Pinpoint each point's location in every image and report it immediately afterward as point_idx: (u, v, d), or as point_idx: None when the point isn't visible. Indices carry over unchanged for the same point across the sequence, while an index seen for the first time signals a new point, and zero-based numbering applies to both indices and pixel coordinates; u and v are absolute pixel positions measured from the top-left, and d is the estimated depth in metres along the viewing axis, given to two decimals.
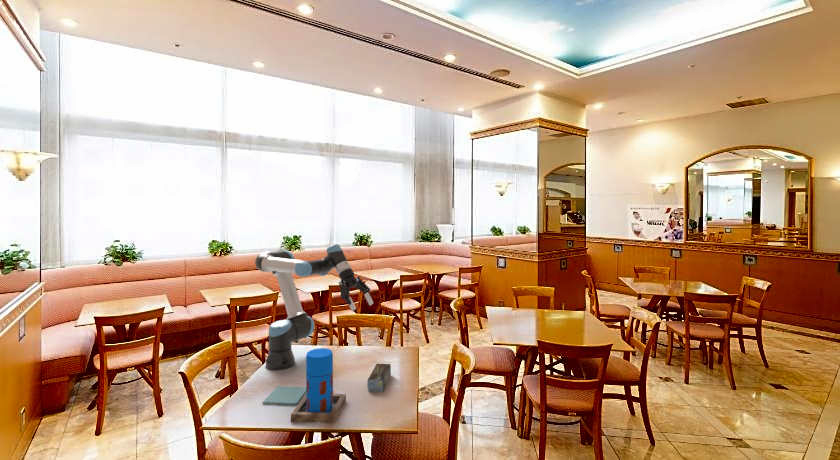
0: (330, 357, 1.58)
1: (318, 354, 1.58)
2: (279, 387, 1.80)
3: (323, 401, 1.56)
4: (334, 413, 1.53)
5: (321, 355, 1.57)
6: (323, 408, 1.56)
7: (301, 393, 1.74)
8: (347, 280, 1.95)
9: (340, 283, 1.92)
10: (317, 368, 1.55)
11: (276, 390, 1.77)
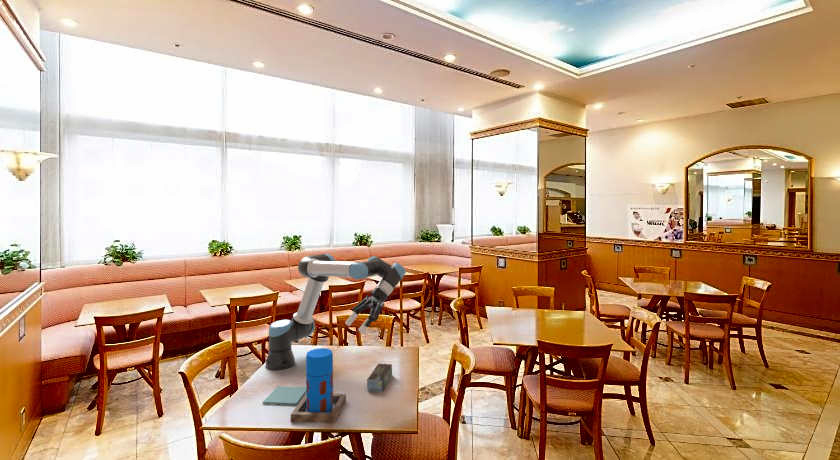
0: (330, 357, 1.58)
1: (318, 354, 1.58)
2: (279, 387, 1.80)
3: (323, 401, 1.56)
4: (334, 413, 1.53)
5: (321, 355, 1.57)
6: (323, 408, 1.56)
7: (301, 393, 1.74)
8: None
9: (381, 304, 1.73)
10: (317, 368, 1.55)
11: (276, 390, 1.77)
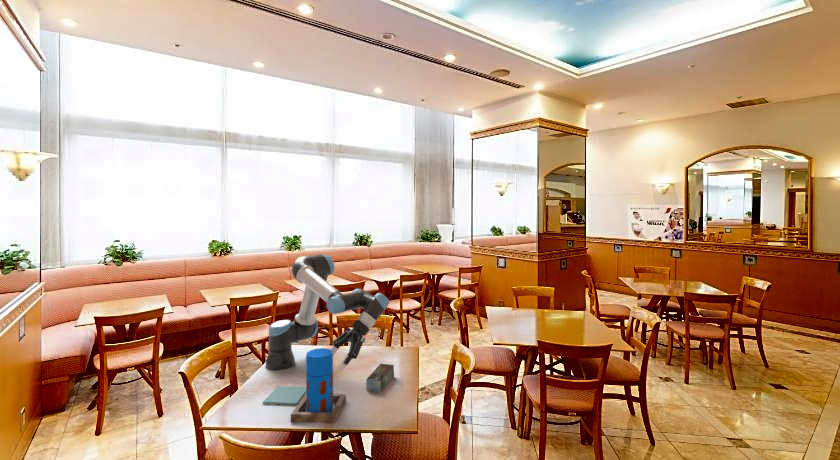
0: (330, 357, 1.58)
1: (318, 354, 1.58)
2: (279, 387, 1.80)
3: (323, 401, 1.56)
4: (334, 413, 1.53)
5: (321, 355, 1.57)
6: (323, 408, 1.56)
7: (301, 393, 1.74)
8: None
9: (361, 339, 1.63)
10: (317, 368, 1.55)
11: (276, 390, 1.77)
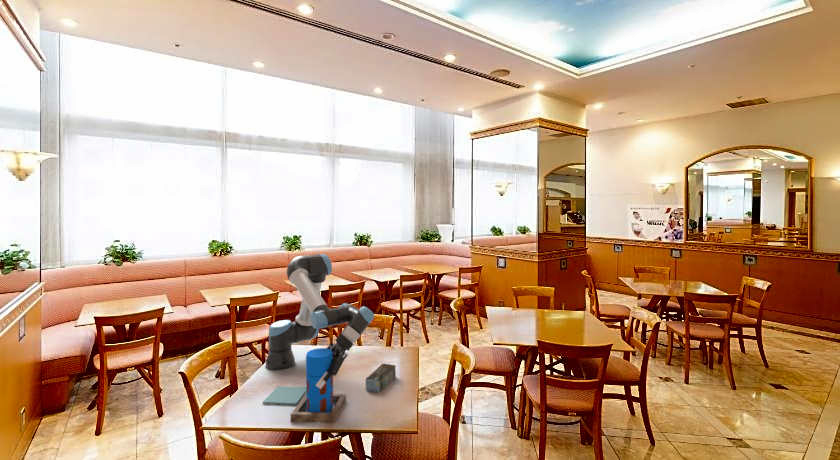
0: (330, 357, 1.58)
1: (318, 354, 1.58)
2: (279, 387, 1.80)
3: (323, 401, 1.56)
4: (334, 413, 1.53)
5: (321, 355, 1.57)
6: (323, 408, 1.56)
7: (301, 393, 1.74)
8: None
9: (343, 355, 1.59)
10: (317, 368, 1.55)
11: (276, 390, 1.77)
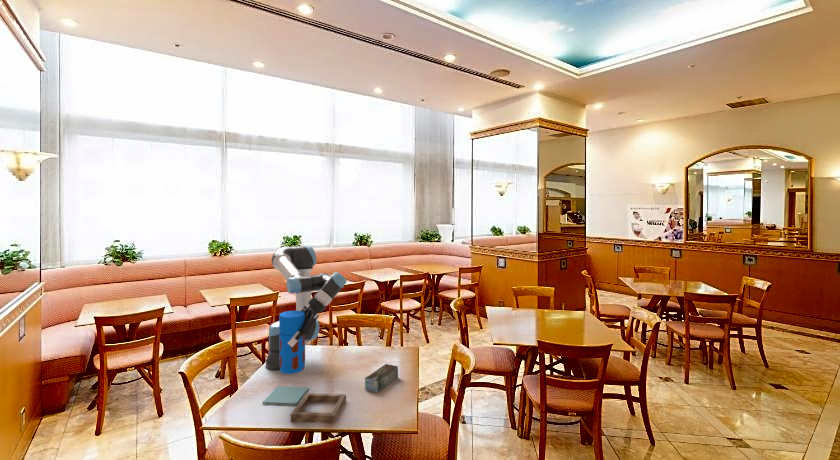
0: (302, 318, 1.66)
1: (290, 315, 1.66)
2: (279, 387, 1.80)
3: (295, 359, 1.65)
4: (334, 413, 1.53)
5: (293, 315, 1.65)
6: (295, 365, 1.65)
7: (301, 393, 1.74)
8: None
9: (315, 316, 1.67)
10: (289, 327, 1.63)
11: (276, 390, 1.77)
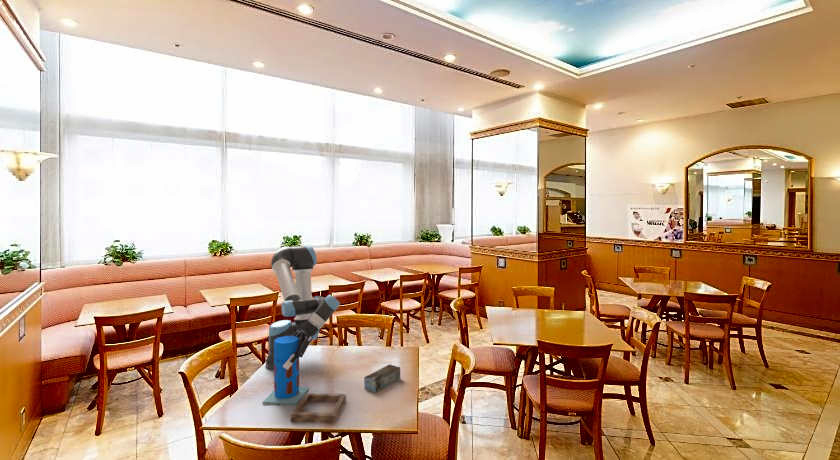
0: (296, 343, 1.71)
1: (285, 340, 1.71)
2: None
3: (289, 384, 1.69)
4: (334, 413, 1.53)
5: (287, 341, 1.70)
6: (289, 390, 1.69)
7: (301, 393, 1.74)
8: None
9: (309, 338, 1.71)
10: (283, 353, 1.68)
11: None
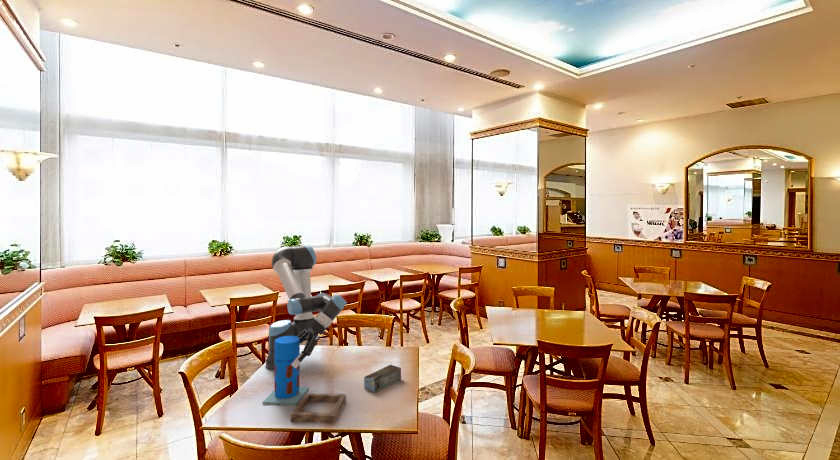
0: (297, 343, 1.71)
1: (285, 340, 1.71)
2: None
3: (289, 384, 1.69)
4: (334, 413, 1.53)
5: (288, 342, 1.70)
6: (289, 390, 1.69)
7: (301, 393, 1.74)
8: None
9: (316, 337, 1.73)
10: (284, 353, 1.68)
11: None
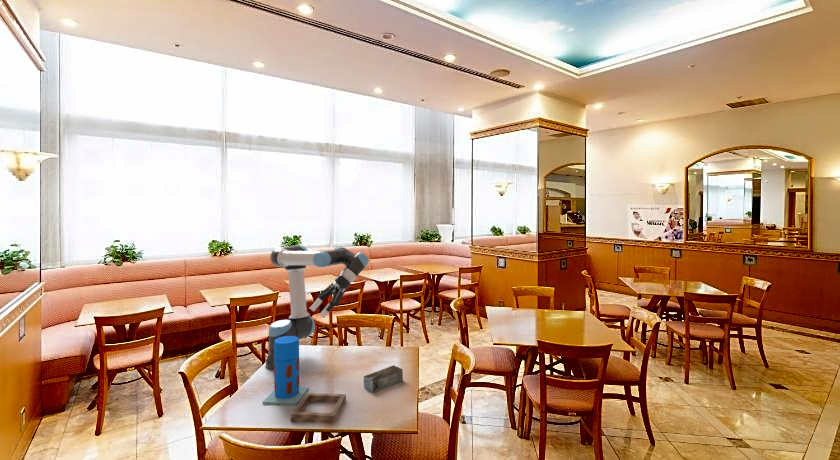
0: (296, 343, 1.71)
1: (285, 341, 1.71)
2: None
3: (289, 384, 1.69)
4: (334, 413, 1.53)
5: (287, 342, 1.70)
6: (289, 390, 1.69)
7: (301, 393, 1.74)
8: None
9: (342, 290, 1.82)
10: (283, 354, 1.68)
11: None
